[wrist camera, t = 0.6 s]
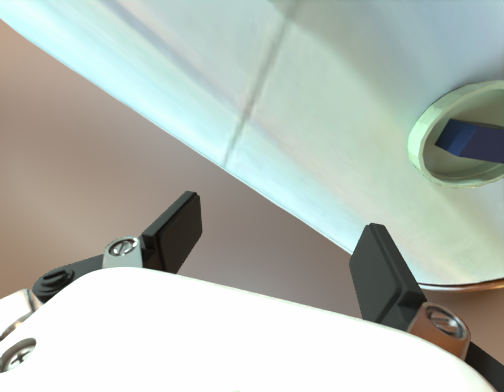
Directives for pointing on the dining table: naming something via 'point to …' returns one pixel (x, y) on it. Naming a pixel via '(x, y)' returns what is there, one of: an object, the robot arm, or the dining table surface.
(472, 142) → the navy blue block
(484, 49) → the dining table surface
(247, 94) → the dining table surface
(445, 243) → the dining table surface
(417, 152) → the bowl
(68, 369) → the robot arm
